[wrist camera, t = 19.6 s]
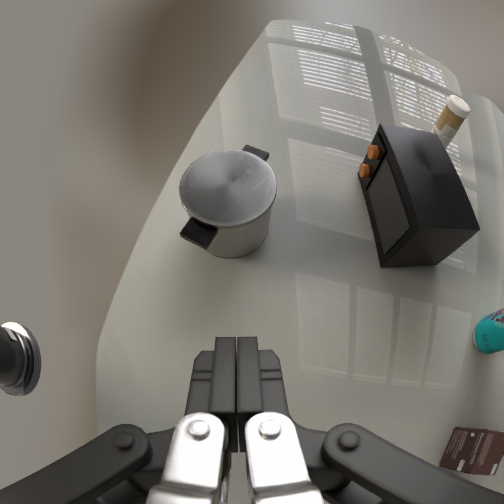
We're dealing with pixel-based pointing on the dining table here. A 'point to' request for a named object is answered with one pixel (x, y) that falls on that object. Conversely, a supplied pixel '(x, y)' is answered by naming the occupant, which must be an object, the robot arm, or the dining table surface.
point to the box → (474, 451)
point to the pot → (228, 201)
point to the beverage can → (490, 333)
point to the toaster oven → (414, 198)
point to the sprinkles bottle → (451, 119)
